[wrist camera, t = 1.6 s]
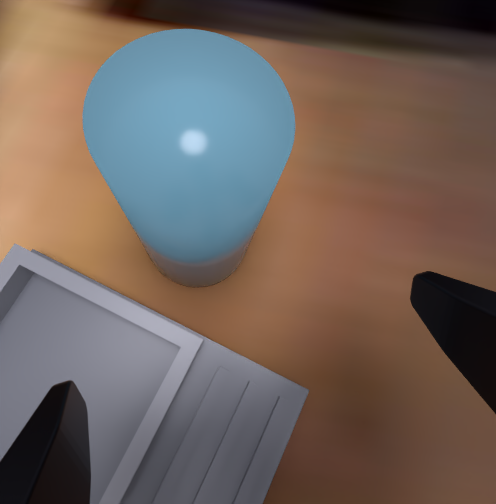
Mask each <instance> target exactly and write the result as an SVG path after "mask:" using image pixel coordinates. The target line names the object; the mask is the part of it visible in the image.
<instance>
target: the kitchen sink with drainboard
mask: <svg viewBox="0 0 496 504" xmlns="http://www.w3.org/2000/svg"><path fill="white" fill-rule="evenodd" d="M68 380H72V381H73V382H74V383H75V384H76V386H77V388H78V390H79V391H80V393H81V395H82V397H83V398H84V400H85V402H86V406H87V412H88V428H89V445H90V461H91V491H90V504H263V501H264V499H265V496H266V494H267V492H268V489H269V487H270V484H271V482H272V479H273V477H274V475H275V472H276V470H277V467H278V465H279V462H280V460H281V458H282V455H283V453H284V450H285V448H286V446H287V443H288V441H289V438H290V436H291V433H292V431H293V429H294V426H295V424H296V421H297V419H298V416H299V414H300V412H301V409H302V407H303V404H304V402H305V400H306V397H307V395H308V392H309V390H308V389H306V388H304V387H302V386H300V385H298V384H296V383H294V382H292V381H290V380H288V379H286V378H284V377H282V376H280V375H278V374H276V373H275V372H273V371H271V370H269V369H267V368H265V367H263V366H261V365H259V364H257V363H255V362H253V361H251V360H249V359H247V358H245V357H243V356H241V355H239V354H237V353H235V352H233V351H231V350H229V349H228V348H226V347H224V346H222V345H220V344H218V343H216V342H214V341H212V340H210V339H208V338H206V337H204V336H202V335H200V334H198V333H196V332H194V331H192V330H190V329H188V328H186V327H184V326H182V325H181V324H179V323H177V322H175V321H173V320H171V319H169V318H167V317H165V316H163V315H161V314H159V313H157V312H155V311H153V310H151V309H149V308H147V307H145V306H143V305H141V304H139V303H137V302H135V301H134V300H132V299H130V298H128V297H126V296H124V295H122V294H120V293H118V292H116V291H114V290H112V289H110V288H108V287H106V286H104V285H102V284H100V283H98V282H96V281H94V280H92V279H90V278H88V277H87V276H85V275H83V274H81V273H79V272H77V271H75V270H73V269H71V268H69V267H67V266H65V265H63V264H61V263H59V262H57V261H55V260H53V259H51V258H49V257H47V256H45V255H43V254H41V253H40V252H38V251H36V250H34V249H32V251H29V250H27V249H25V248H23V247H21V246H19V245H17V244H14V245H13V247H12V248H11V249H10V251H9V252H8V254H7V255H6V257H5V258H4V259H3V261H2V262H1V264H0V461H1V459H2V458H3V457H4V455H5V454H6V452H7V451H8V449H9V448H10V446H11V445H12V443H13V442H14V441H15V439H16V438H17V436H18V435H19V433H20V432H21V430H22V429H23V427H24V426H25V425H26V423H27V422H28V420H29V419H30V417H31V416H32V414H33V413H34V411H35V410H36V409H37V407H38V406H39V404H40V403H41V401H42V400H43V398H44V397H45V395H46V394H47V393H48V391H49V390H50V388H51V387H52V386H53V385H55V384H58V383H61V382H64V381H68Z"/></svg>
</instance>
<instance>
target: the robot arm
mask: <svg viewBox="0 0 496 504" xmlns="http://www.w3.org/2000/svg"><path fill="white" fill-rule="evenodd" d="M410 300H411V304H412V306H413V308H414V309H415V311H416V312H417V314H418V315H419V317H420V318H421V319H422V321H423V322H424V324H425V325H426V327H427V328H428V330H429V331H430V333H431V334H432V336H433V337H434V339H435V340H436V342H437V343H438V344H439V346H440V347H441V349H442V350H443V351H444V353H445V354H446V355H447V356H448V358H449V359H450V360H451V361H452V362H453V364H454V365H455V366H456V367H457V368H458V370H459V371H460V372H461V373H462V374H463V376H464V377H465V378H466V379H467V380H468V382H469V383H470V384H471V385H472V386H473V387H474V389H475V390H476V391H477V392H478V393H479V395H480V396H481V397H482V398H483V399H484V401H485V402H486V403H487V404H488V405H489V407H490V408H491V409H492V410H493V411H494V413H495V414H496V292H494V291H491V290H488V289H484V288H481V287H478V286H475V285H472V284H469V283H466V282H462V281H459V280H456V279H453V278H450V277H447V276H444V275H441V274H437V273H434V272H431V271H426V272H423V273H419V274H416V275H415V276H414V278H413V282H412V288H411V295H410ZM90 491H91V461H90V445H89V428H88V412H87V406H86V402H85V400H84V398H83V397H82V395H81V393H80V391H79V390H78V388H77V386H76V384H75V383H74V382H73V381H72V380H68V381H64V382H61V383H58V384H55V385H53V386H52V387H51V388H50V390H49V391H48V393H47V394H46V395H45V397H44V398H43V400H42V401H41V403H40V404H39V406H38V407H37V409H36V410H35V411H34V413H33V414H32V416H31V417H30V419H29V420H28V422H27V423H26V425H25V426H24V427H23V429H22V430H21V432H20V433H19V435H18V436H17V438H16V439H15V441H14V442H13V443H12V445H11V446H10V448H9V449H8V451H7V452H6V454H5V455H4V457H3V458H2V459H1V461H0V504H90Z"/></svg>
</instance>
